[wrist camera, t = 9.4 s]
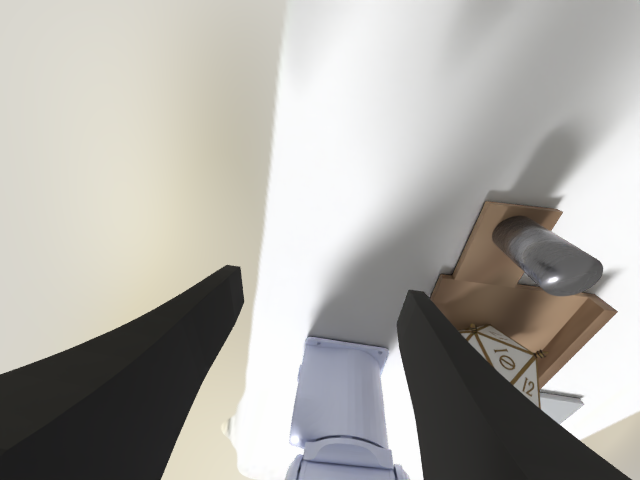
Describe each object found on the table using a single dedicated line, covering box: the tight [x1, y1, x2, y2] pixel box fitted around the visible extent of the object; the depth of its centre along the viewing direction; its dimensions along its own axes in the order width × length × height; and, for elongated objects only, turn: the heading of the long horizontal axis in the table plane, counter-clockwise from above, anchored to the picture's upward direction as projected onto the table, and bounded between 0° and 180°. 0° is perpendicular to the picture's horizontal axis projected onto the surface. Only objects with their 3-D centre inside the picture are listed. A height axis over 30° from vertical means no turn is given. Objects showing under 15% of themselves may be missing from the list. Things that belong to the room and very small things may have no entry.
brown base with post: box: [430, 201, 618, 389], centre depth 19 cm, size 13×19×6 cm
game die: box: [458, 323, 549, 409], centre depth 21 cm, size 9×8×10 cm
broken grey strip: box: [540, 393, 584, 424], centre depth 29 cm, size 16×6×1 cm, turn 86°
